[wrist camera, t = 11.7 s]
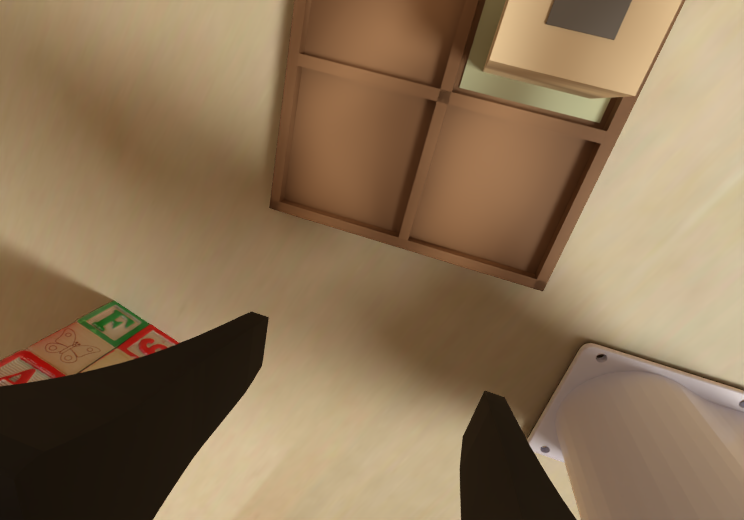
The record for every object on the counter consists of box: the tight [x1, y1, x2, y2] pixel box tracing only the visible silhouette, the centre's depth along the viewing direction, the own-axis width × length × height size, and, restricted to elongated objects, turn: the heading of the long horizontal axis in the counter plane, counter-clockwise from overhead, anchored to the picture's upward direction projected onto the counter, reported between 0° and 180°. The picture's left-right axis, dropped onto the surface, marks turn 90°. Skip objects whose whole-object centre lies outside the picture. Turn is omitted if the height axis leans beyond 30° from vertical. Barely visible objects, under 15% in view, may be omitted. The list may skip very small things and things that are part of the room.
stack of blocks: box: [0, 301, 179, 386], centre depth 26 cm, size 21×6×12 cm, turn 148°
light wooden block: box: [483, 0, 682, 99], centre depth 13 cm, size 4×4×5 cm
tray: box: [270, 0, 685, 291], centre depth 17 cm, size 14×14×1 cm
